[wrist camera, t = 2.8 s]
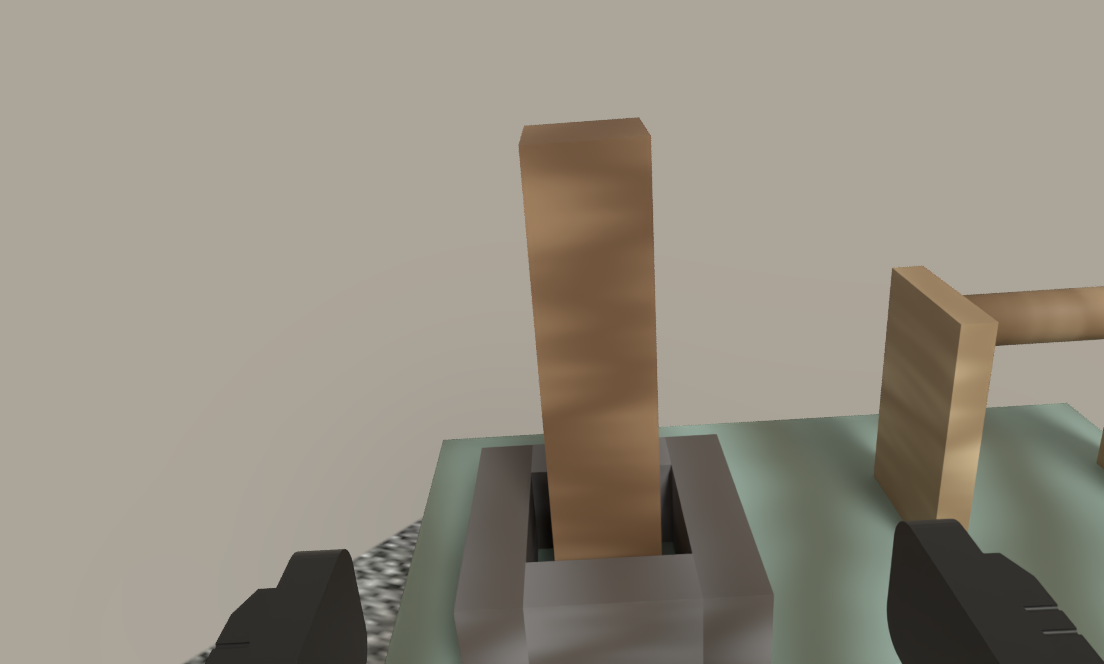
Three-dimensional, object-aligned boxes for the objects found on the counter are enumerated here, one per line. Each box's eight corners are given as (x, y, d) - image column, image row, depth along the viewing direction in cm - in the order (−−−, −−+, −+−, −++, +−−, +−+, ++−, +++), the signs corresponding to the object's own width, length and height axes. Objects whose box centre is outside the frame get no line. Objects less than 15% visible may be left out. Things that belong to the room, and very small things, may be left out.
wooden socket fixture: (414, 901, 25) (319, 444, 19) (464, 590, 38) (417, 260, 32) (1296, 867, 24) (1498, 373, 18) (1037, 560, 37) (1102, 214, 31)
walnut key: (560, 627, 24) (518, 145, 19) (560, 562, 27) (524, 126, 21) (663, 623, 24) (650, 135, 18) (652, 557, 27) (638, 117, 21)
